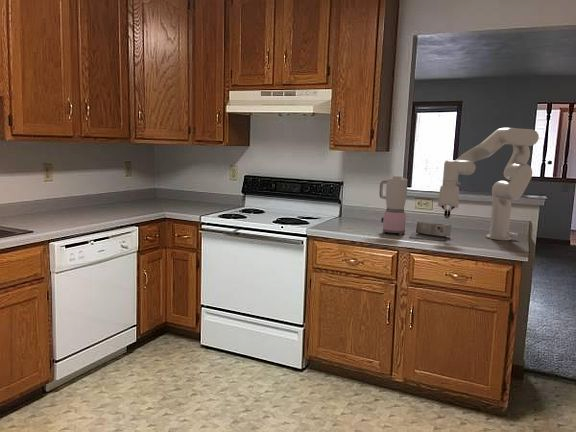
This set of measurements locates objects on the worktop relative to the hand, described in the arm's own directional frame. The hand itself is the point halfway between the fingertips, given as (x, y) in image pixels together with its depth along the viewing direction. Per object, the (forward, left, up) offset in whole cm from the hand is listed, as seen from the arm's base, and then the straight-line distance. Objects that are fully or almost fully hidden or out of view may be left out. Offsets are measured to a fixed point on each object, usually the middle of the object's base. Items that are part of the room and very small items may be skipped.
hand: (446, 217), depth 262 cm
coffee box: (-1, -1, -7) cm, 7 cm away
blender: (+29, -3, -12) cm, 32 cm away
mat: (+9, 0, -11) cm, 15 cm away
